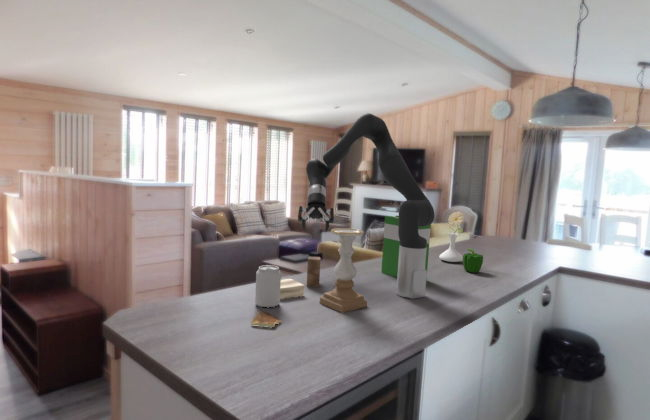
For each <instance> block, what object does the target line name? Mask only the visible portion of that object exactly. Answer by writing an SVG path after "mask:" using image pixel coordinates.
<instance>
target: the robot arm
mask: <svg viewBox="0 0 650 420" xmlns="http://www.w3.org/2000/svg"><path fill="white" fill-rule="evenodd" d="M362 137H363V138H365V139H368V140H370V141H371V142H372V143H373V145H374V146H375V148H376V150H377V151H378V152H377V153H378V159H377V162H378V163H377V164H378V166H379V169H380V172H381V173H382V176H383V178H384V179H385V180H386V182H387V183H388V184H390V186H391V187H393V189H395V190H396V191H398V193H400V194H401V195H402V197H404V198H405V199H406V200H404V201H403V202H402V203H401V205H400V206H399V210H398V216H399V220H398V236H399V240H400V248H399V261H398V275H397V277H396V294H397V295H398V296H399V297H403V298H409V299H411V300H413V299H420V298H426V289H427V288H426V287H427V280H426V278H427V277H428V269H427V270H425V262H426V249H427V240H426V239H425V238H423V237H421V236H420V235H419V233H418V227H423V226H428V225H430V224H431V225H432V223H433V222H434V220H435V209H434V206H433V205H432V203H431V202H430V200H429V199H428V197H427V196H426V195H425V193H424V191H422V189H421V188H420V186H419V184H418V183H417V181H416V179H415V177H414V176H413V174H412V172H411V171H410V169H409V167H408V165H407V162H406V161H405V160H404V157H403V155H401V153H400V151H399V149H398V148H397V146H396V144H395V143H394V140H393V138H392V136H391V133H390V131H389V128H388V126H387V124H386V122H385V121H384V120H383V119H382V118H380V117H379V116H377V115H374V114H373V113H369V112H366V113H363V114H361V115H360V116H359V117H358V118H357V119H356V120H355V121H354V123H353V124H352V125H351V126H350V127H349V128H348V130H347V131H346V132H345V133H344V134H343V135H342V137H341V138H340V139H339V140H338V141H337V142H336V143H335V144H333V146H332V147H330V148H329V149H328V150H327V151H326V152H325V153H324V154H323V155H322V160H323V161H321V160H319V159H318V158H315V157H314V158H312V159H310V160H308V162H307V164H306V175H307V176H306V177H307V178H308V182H309V183H308V184H309V185H308V190H307V191H308V192H307V201H306V202H307V205H306V207H303V206H302V205H300V206H299V208H298V213H297V214H298V215H297V221H298V222H301V229H302V231H306V226H307V225H306V223H307V221H309V220H310V219H313V220H314V219H317V220H322V221H323V222H324V223H325V229H324V231H325V232H328V231H329V229H330V224H333V223H334V220H335V215H334V208H333V207H330V208H329V209H328V208H327V206H326V205H327V191H326V188H327V181H326V179H327V178H329V176H330V174H331V173H332V171H333V170H334V168H335V167H336V166H338V165H339V164H340V163H341V162H342V161H343V160H345V158H346V157H348V155H349V153H350V151H351V148H352V146H353V144H354V143H355V142H356V141H358V140H359V139H360V138H362ZM305 212H306V213H305ZM304 213H305V214H304ZM303 214H304V215H303ZM327 214H328V215H329V217H328V215H327ZM302 215H303V216H302Z"/></svg>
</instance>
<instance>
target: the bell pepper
mask: <svg viewBox="0 0 650 420" xmlns="http://www.w3.org/2000/svg"><path fill="white" fill-rule="evenodd" d="M467 251H468V252H466V253H463V256H462V257H463V260H462V264H463V265H462V266H463V270H464V271H466V272H470V273H471V274H473V273H475V274H476V273H479V272H480V271H481V269H482V266H483V262H484V256H483V255H482V254H480V253H479V254H478V253H477V252H475V250H474V249H472V248H468V249H467Z"/></svg>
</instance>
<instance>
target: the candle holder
mask: <svg viewBox="0 0 650 420" xmlns="http://www.w3.org/2000/svg"><path fill="white" fill-rule="evenodd" d="M330 233H331V234H334V235H337V237H338V239H339V240H340V246H339V247H338V249H337V251H338V253H339V256H340V258H339V260H338V261H337V263H336V265H335V266H334V267H333V268H334V269H333V275H334V277H335V278H336V280H335V281H334V286H335V288H334V289H332V290H331V291H327V292H324V293H323V294H322V295H323V296H320V297H319V304H321V305H323V306H325V305H326V307H327V306H328V308H329V307H330V308H329V309H332V308H333V309H332V310H334V309H335V310H334V311H336V310H337V311H336V312H338V311H340V312H339V313H341V312H344V313H347V311H348V312H352V311H355V309H356V310H359V308H360V309H364V308H367V307H368V300H366V299H365V296H364V295H362V294H360V293H358V292H357V291H356V290H355V289H353V288H354V286H355V283H354V281H353V279H355V278H356V277H357V272H358V271H357V268H356V266H355V265H354V263H353V260H352V256H353V255H354V253H355V249H354V247H353V242H354V241H355V240H356V237H358V236H359V237H360V236H363V235H364V233H365V231H364V230H362V229H358V228H351V227H333V228H331V229H330ZM363 307H364V308H363ZM351 310H352V311H351Z"/></svg>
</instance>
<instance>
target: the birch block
mask: <svg viewBox="0 0 650 420" xmlns="http://www.w3.org/2000/svg"><path fill="white" fill-rule="evenodd" d="M303 295H304V296H305V284H303V283H301V282H299V281H297V280H295V279H294V278H293V279H292V278H286V279H285V278H283V279H281V283H280V299H281V300H286V299H285V298H287V299H292V298H291V297H294V298H299V297H298V296H300V297H304V296H303Z"/></svg>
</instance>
